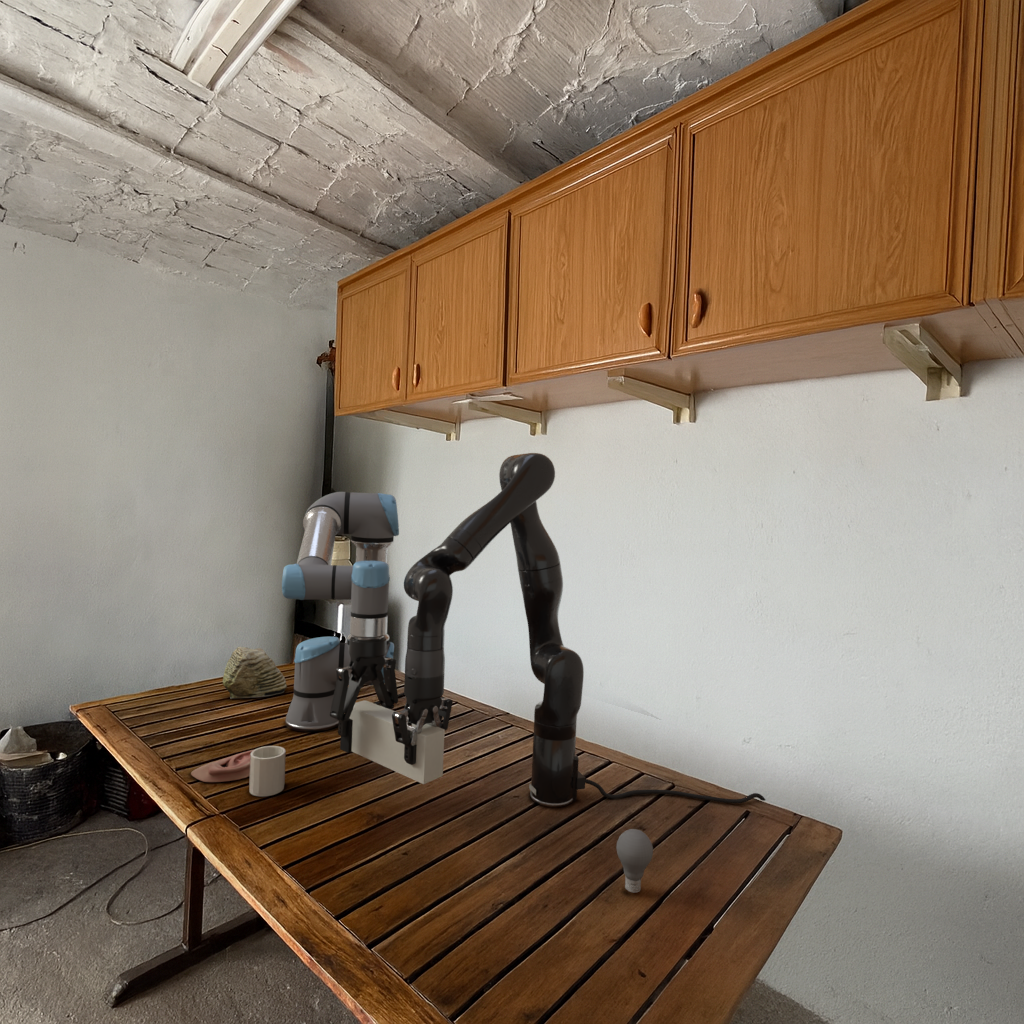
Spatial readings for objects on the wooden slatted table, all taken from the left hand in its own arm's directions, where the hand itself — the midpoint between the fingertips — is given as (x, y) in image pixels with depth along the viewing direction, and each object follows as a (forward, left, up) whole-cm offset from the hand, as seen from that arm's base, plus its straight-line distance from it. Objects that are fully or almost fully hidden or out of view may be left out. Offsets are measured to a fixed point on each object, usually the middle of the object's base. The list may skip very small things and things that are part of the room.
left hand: (364, 744), depth 132 cm
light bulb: (-12, +57, -12) cm, 59 cm away
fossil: (-21, -80, -12) cm, 84 cm away
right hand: (0, +17, +2) cm, 17 cm away
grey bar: (0, +9, -1) cm, 9 cm away
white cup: (+10, -19, -12) cm, 25 cm away
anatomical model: (+12, -33, -12) cm, 37 cm away
